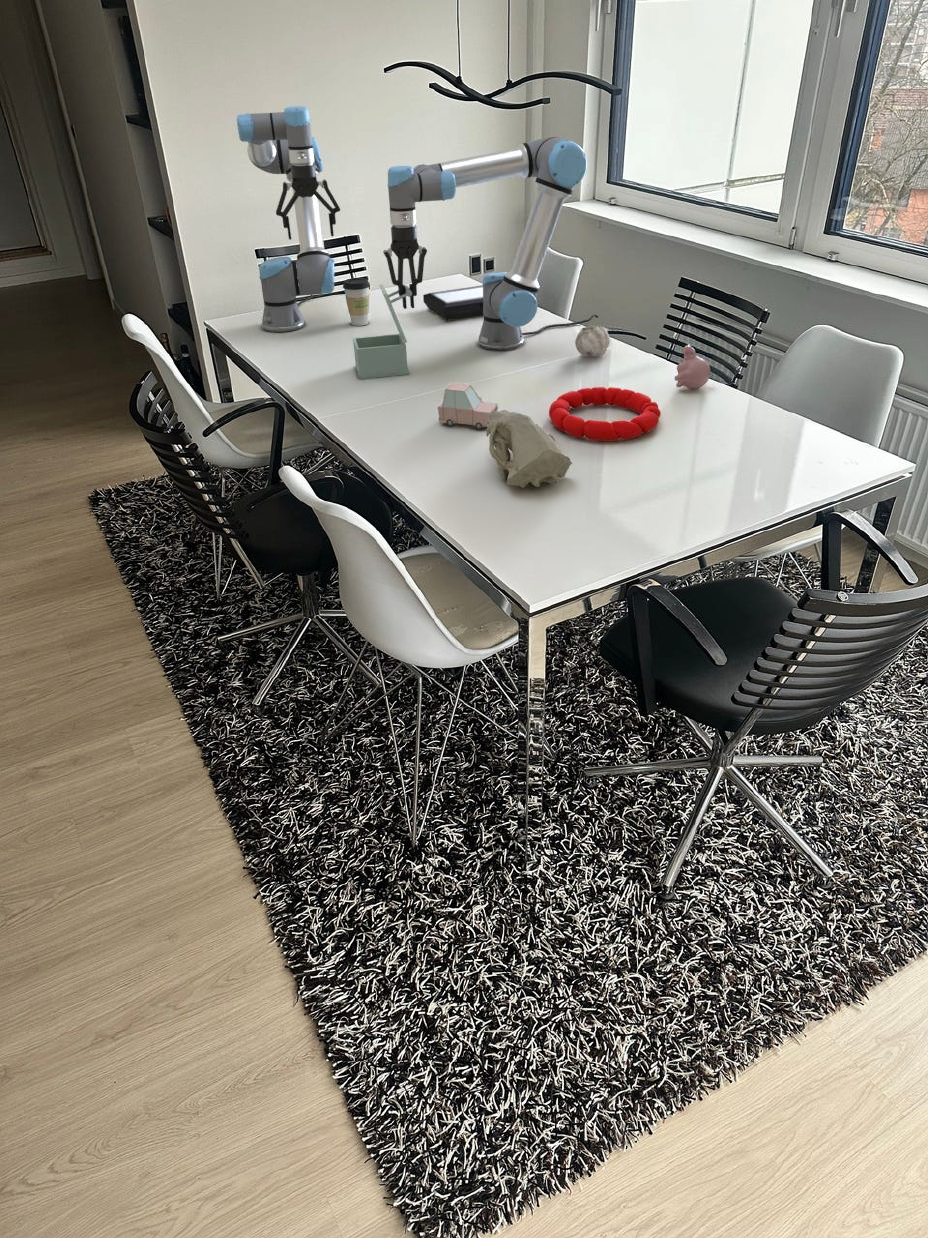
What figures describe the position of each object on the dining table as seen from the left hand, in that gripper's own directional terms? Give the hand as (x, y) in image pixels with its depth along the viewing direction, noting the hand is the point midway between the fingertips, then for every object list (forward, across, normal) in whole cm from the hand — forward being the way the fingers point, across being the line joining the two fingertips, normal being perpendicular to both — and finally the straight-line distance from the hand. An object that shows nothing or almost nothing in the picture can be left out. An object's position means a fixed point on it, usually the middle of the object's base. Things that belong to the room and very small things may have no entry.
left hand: (311, 237), depth 288 cm
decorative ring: (+35, +70, -92) cm, 120 cm away
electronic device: (+35, +58, +25) cm, 72 cm away
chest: (+35, +16, -32) cm, 50 cm away
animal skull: (+35, +40, -115) cm, 127 cm away
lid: (+18, +20, -32) cm, 42 cm away
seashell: (+35, +84, -38) cm, 99 cm away
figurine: (+35, +102, -74) cm, 131 cm away
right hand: (+16, +26, -32) cm, 44 cm away
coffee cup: (+35, +15, +21) cm, 44 cm away
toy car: (+35, +34, -83) cm, 96 cm away
